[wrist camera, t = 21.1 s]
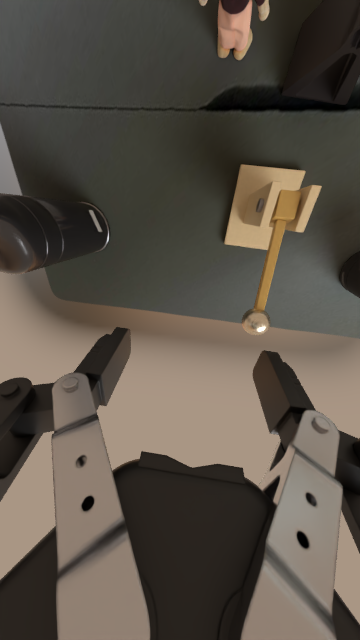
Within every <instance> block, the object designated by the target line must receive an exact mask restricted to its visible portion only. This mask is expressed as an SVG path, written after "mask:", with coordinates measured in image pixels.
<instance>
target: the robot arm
mask: <svg viewBox="0 0 360 640" xmlns="http://www.w3.org/2000/svg"><path fill="white" fill-rule="evenodd" d="M109 240H110V227H109V224H108V221H107V219H106V217H105V216H104V214H103V213H102V212H101V211H100V210H99V209H98V208H97V207H96V206H94V205H92V204H90V203H86V202H73V201H64V200H56V199H47V198H38V197H30V196H20V195H11V194H3V193H0V272H3V273H8V274H22V273H26V272H30V271H33V270H36V269H39V268H43V267H46V266H50V265H53V264H56V263H60V262H63V261H66V260H70V259H73V258H77V257H80V256H83V255H87V254H90V253H95V252H99V251H101V250H103V249H104V248H105V247H106V246H107V245H108V243H109ZM130 351H131V339H130V329H126V328H120V327H116V329H115V330H114V331H113V333H112V334H111V335H109V334H106V335H104V336H103V337H101V338H100V339H99V340H98V341H97V342H96V344H95V345H94V347H92V349H91V350H90V352H89V353H88V354H87V355H86V357H85V358H84V359H83V361H82V362H81V363H80V365H79V366H78V367H77V369H76V370H75V371H74V372H73V373H69V374H67V375H64V376H63V377H61V378H59V379H58V380H57V381H56V382H55V383H50V384H40V385H32V383H31V381H30V380H29V379H27V378H13V379H10V380H7V381H5V382H3V383H1V384H0V501H1V500H2V498H3V496H4V495H5V493H6V492H7V490H8V488H9V487H10V485H11V484H12V482H13V480H14V479H15V477H16V476H17V474H18V472H19V471H20V469H21V468H22V466H23V464H24V463H25V461H26V460H27V458H28V457H29V455H30V453H31V452H32V450H33V449H34V447H35V445H36V444H37V442H38V440H39V439H40V437H41V436H42V434H43V433H45V432H50V431H54V434H52V460H53V481H54V499H55V518H56V526H55V527H54V528H53V529H52V530H51V531H50V532H49V533H48V534H47V535H46V536H45V537H44V538H43V539H42V540H41V541H40V542H39V543H38V544H37V545H36V546H35V547H34V548H33V549H32V550H31V551H29V553H27V554H26V555H25V557H24V558H22V559H21V560H20V561H19V562H18V563H17V564H16V565H15V566H14V567H13V568H12V569H11V570H10V571H9V572H8V573H7V574H6V575H5V576H4V577H3V578H2V579H1V580H0V640H360V624H359V623H358V622H357V620H356V619H355V617H354V616H353V615H352V613H351V612H350V610H349V609H348V608H347V606H346V605H345V603H344V602H343V600H342V599H341V598H340V596H339V595H338V593H337V592H336V591H335V589H334V581H335V570H336V560H337V548H338V538H339V527H340V515H341V510H342V512H343V515H344V517H345V520H346V522H347V524H348V527H349V529H350V532H351V534H352V536H353V539H354V541H355V543H356V546H357V548H358V551H359V553H360V438H359V439H358V438H355V437H353V436H351V435H348V434H346V433H344V432H342V431H339V430H338V429H337V427H336V426H335V424H334V423H333V422H332V421H331V420H330V419H329V418H327V417H326V416H325V415H324V414H322V413H320V412H318V411H316V410H315V408H314V406H313V405H312V403H311V401H310V399H309V397H308V396H307V394H306V393H305V391H304V389H303V387H302V386H301V383H300V381H299V380H298V379H297V376H296V374H295V373H294V371H293V369H292V368H290V366H289V365H287V363H285V362H283V361H282V359H281V358H280V356H279V354H278V353H277V352H271V351H265V350H264V351H262V353H261V354H260V356H259V359H258V361H257V363H256V365H255V367H254V369H253V379H254V383H255V386H256V389H257V392H258V395H259V399H260V402H261V406H262V409H263V412H264V415H265V419H266V422H267V425H268V429H269V432H270V433H271V434H277V435H279V436H280V439H281V440H280V441H279V443H278V445H277V447H276V450H275V452H274V454H273V457H272V459H271V462H270V464H269V466H268V469H267V471H266V473H265V475H264V477H263V479H262V480H261V482H260V484H259V486H257V485H256V484H254V483H253V482H251V481H250V480H249V479H247V478H245V477H244V473H243V468H239V467H234V466H228V465H221V464H214V465H208V466H201V467H195V468H192V467H189V466H187V465H185V464H183V463H181V462H178V461H177V460H175V459H173V458H170V457H168V456H167V455H161V454H154V453H149V452H143V451H142V452H141V456H140V459H136V460H132V461H129V462H127V463H124V464H122V465H120V466H119V467H117V468H116V469H114V470H113V471H112V469H111V465H110V461H109V457H108V454H107V449H106V446H105V442H104V438H103V434H102V430H101V426H100V422H99V419H98V415H97V412H96V411H97V409H98V407H99V405H103V406H107V403H108V401H109V399H110V397H111V395H112V393H113V391H114V388H115V386H116V384H117V382H118V380H119V378H120V376H121V374H122V371H123V369H124V367H125V365H126V363H127V361H128V359H129V355H130Z"/></svg>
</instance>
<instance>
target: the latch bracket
mask: <svg viewBox="0 0 360 640" xmlns="http://www.w3.org/2000/svg"><path fill="white" fill-rule="evenodd" d="M305 172H306V171H301V170H292V169H282V168H272V167H262V166H252V165H243V164H241V166H240V170H239V175H238V179H237V184H236V189H235V194H234V198H233V203H232V208H231V212H230V217H229V222H228V227H227V231H226V236H225V241H224V244H228V245H235V246H243V247H250V248H257V249H265V250H268V246H269V242H270V238H271V234H272V230H273V225H274V224H273V223H270V220H271V217H272V214H273V210H274V207H275V204H276V201H277V197H278V194H279V192H280V191H281V190H291V191H300V192H301V196H300V200H299V203H298V207H297V211H296V215H295V219H293V220H292V221H290V222H289V223H288V224H286V225H285V229H284V231H285V230H290V231H296V232H304V229H305V227H306V224H307V222H308V219H309V217H310V215H311V213H312V210H313V207H314V204H315V202H316V199H317V197H318V194H319V192H320V189H321V187H322V186H317V185H311V186H308V187H305V188H302V189H299V188H300V186H301V183H302V180H303V177H304V174H305ZM283 234H284V233H283Z"/></svg>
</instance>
